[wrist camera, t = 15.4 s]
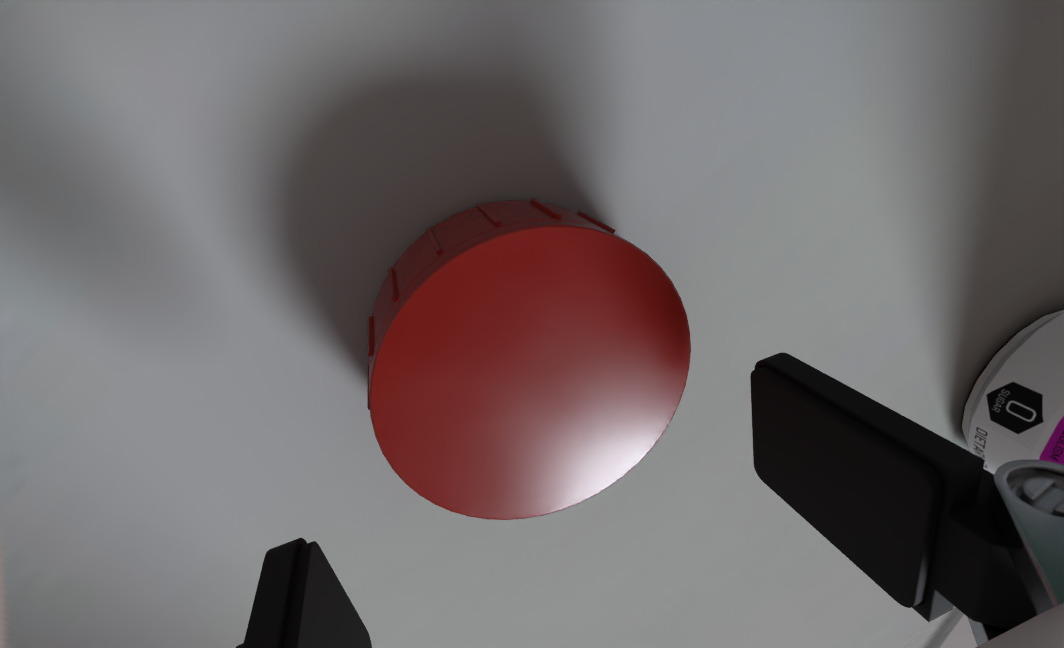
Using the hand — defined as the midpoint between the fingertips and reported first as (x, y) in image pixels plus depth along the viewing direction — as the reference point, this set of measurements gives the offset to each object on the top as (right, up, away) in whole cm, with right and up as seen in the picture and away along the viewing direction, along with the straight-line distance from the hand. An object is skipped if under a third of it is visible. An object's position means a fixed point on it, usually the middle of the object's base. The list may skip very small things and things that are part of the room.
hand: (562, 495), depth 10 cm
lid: (-1, +2, +1) cm, 3 cm away
